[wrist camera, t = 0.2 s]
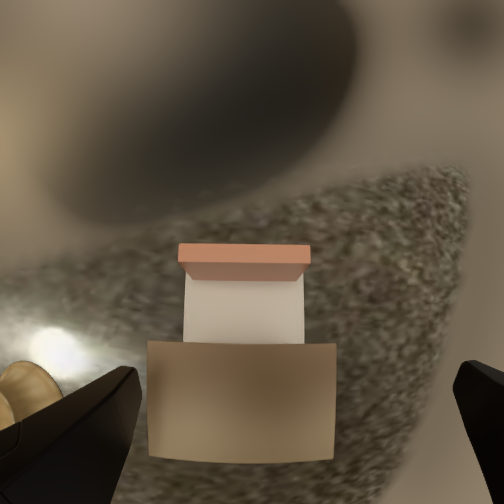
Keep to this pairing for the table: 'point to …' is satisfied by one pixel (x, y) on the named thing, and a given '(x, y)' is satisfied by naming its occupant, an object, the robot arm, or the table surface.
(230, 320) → the base
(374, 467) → the table surface
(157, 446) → the tan tall block
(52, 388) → the hand bell
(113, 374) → the robot arm
